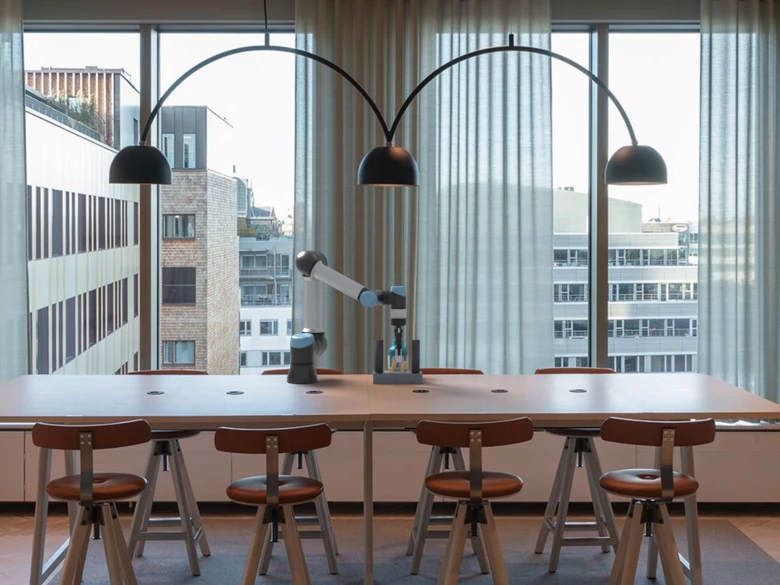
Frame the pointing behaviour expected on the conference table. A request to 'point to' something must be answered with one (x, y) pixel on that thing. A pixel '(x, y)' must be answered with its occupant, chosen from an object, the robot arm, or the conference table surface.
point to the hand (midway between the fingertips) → (398, 360)
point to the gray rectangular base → (397, 377)
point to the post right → (415, 356)
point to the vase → (392, 358)
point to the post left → (379, 356)
